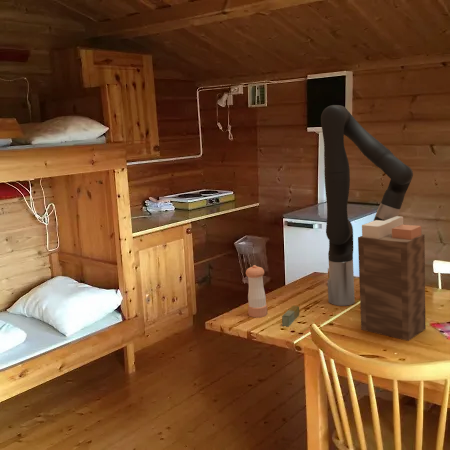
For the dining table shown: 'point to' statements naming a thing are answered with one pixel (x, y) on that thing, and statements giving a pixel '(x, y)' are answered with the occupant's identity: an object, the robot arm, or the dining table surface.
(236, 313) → the dining table surface
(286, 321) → the medication box
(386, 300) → the walnut stand
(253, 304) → the pepper shaker
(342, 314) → the dining table surface
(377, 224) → the beige long block
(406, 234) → the terracotta block
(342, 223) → the robot arm
